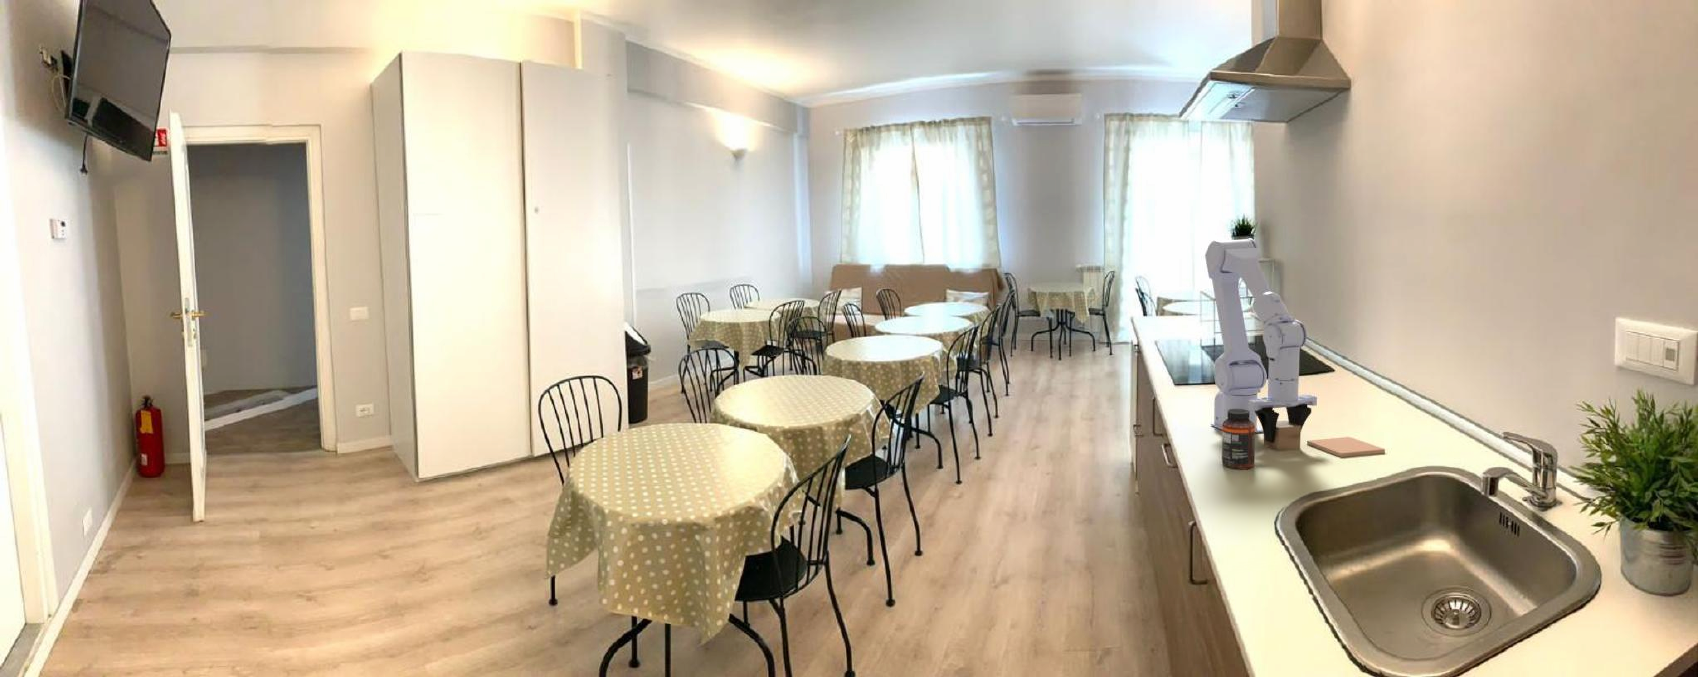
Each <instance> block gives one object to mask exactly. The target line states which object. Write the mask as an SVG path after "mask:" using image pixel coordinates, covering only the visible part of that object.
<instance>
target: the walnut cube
mask: <svg viewBox="0 0 1698 677" xmlns="http://www.w3.org/2000/svg"><path fill="white" fill-rule="evenodd" d="M1301 432H1302V430H1301V426H1299V425H1297V424H1294V423H1291V422H1289V421H1288V420H1277V423H1276V431H1275V441H1274V443H1270V442H1268V441H1266V440H1265V436H1264V435H1263V446H1266V447H1268V448H1270V449H1272V448H1273V450H1276V451H1278V452H1282V451H1293V450H1301V434H1302V433H1301Z"/></svg>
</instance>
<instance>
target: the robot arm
mask: <svg viewBox="0 0 1698 677" xmlns="http://www.w3.org/2000/svg"><path fill="white" fill-rule="evenodd" d="M1204 256H1205V257H1204V258H1205V263H1206V268H1207V274H1208V278H1209V279H1210V280H1211V282H1212V283H1211V284H1212V288H1213V289H1212V290H1213V294H1214V299H1215V300H1214V301H1215V305H1216V311H1217V316H1218V321H1219V322H1218V323H1219V328H1220V333H1221V340H1222V344H1223V353H1222V354H1220V356H1219V357H1217V358H1216V360H1215V361H1214V365H1215V366H1214V382H1215V385H1216V387H1217V388H1218V390H1219V391H1218V392H1217V393H1216V394H1215V397H1214V409H1213V410H1214V412H1213V413H1214V414H1213V415H1214V416H1213V421H1214V422H1211V423H1210V425H1211V426H1212V427H1215V428H1217V429H1219V430H1222V424H1223V422H1224V421H1225V420H1227V419H1228V417H1227V415H1228V410H1230V409H1245V410H1248V411H1249V416H1250V417H1249V420H1250V421H1252V422H1253V423H1254V425H1255V434H1256V433H1263V437H1264V436H1265V440H1266V441H1268V442H1270V443H1274V441H1275V431H1276V423H1277V421H1279V420H1278V419H1279V416H1280V413H1279V412H1276V411H1275V409H1279V408H1280V409H1281V408H1285V410H1286V413H1287V419H1288V420H1287V421H1288V422H1291V423H1294V424H1297V425H1299V426H1301V431H1302V429H1303V427H1304V425H1305V423H1306V422H1307V419H1308V418H1309V416H1310V415H1311V414H1312V407H1315V406H1318V404H1317V403H1318V397H1317V396H1316V395H1313V394H1300V395H1299V380H1300V379H1299V377H1300V351H1301V349H1300V348H1303V346H1305V344H1306V343H1307V339H1308V335H1307V329H1306V327H1305V324H1304V323H1303V322H1302V321H1301V320H1298V319H1296V317H1294V316H1292V315H1291V314H1290V312H1289V310H1288V309H1287V307H1286V304H1285V303H1284V301H1283V299H1282V297H1281V296H1280V294H1278V292H1272V291H1271V289H1270V287H1269V284H1268V282H1267V279H1266V276H1265V274H1264V272H1263V270H1262V267H1261V265H1260V259H1261V250H1260V248H1259V245H1258V244H1257V242H1256V240H1254V238H1245V239H1229V240H1218V239H1217V240H1212V241H1211V242H1209V245H1208V246H1207V249H1206V251H1205V254H1204ZM1240 279H1241V280H1242V281H1243V283H1244V284H1245V286H1246V288H1247V289H1248V290H1249V292H1250V294H1251V295H1252V297H1253V298H1254V300H1253V303H1252V308H1253V310H1254V313H1255V314H1256V316H1257V318H1258V320H1259V322H1260V323H1261V325H1262V328H1263V329H1264V331H1263V332H1264V333H1263V334H1262V341H1263V343H1264V346H1265V354H1266V356H1267V357H1268V374H1267V370H1266V369H1265V367H1264V365H1263V362H1262V359H1261V358H1262V357H1261V356H1260V355H1259V353H1257V352H1255V351H1253V350H1252V349H1251V348H1250V347H1249V340H1248V335H1247V330H1246V324H1245V319H1244V313H1243V307H1242V302H1241V296H1240V291H1239V284H1238V283H1239V281H1240ZM1267 375H1268V376H1267ZM1267 379H1268V380H1267ZM1267 381H1268V383H1267ZM1266 383H1267V386H1268V387H1267V396H1264V397H1260V398H1258V393H1259V394H1260V393H1261V390H1262V389H1263V388H1264V387H1265V385H1266ZM1308 406H1312V407H1308ZM1257 420H1258V421H1259V423H1260V426H1261V427H1259V426H1257V425H1258V421H1257Z"/></svg>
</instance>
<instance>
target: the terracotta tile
mask: <svg viewBox="0 0 1698 677" xmlns="http://www.w3.org/2000/svg"><path fill="white" fill-rule="evenodd" d="M1306 442H1307V443H1306V445H1308V446H1309V447H1310V446H1311V447H1313V448H1316V449H1318V450H1321V451H1324V452H1326V453H1329V454H1331V455H1335V456H1336V457H1339V458H1344V457H1345V458H1346V457H1347V458H1348V457H1355V456H1365V455H1375V454H1376V455H1377V454H1384V453H1386V449H1385V448H1383V447H1380V446H1377V445H1374V444H1372V443H1368V442H1365V441H1363V440H1360V439H1357V438H1354V437H1350V436H1344V437H1333V438H1323V439H1312V440H1310V439H1309V440H1307V441H1306Z"/></svg>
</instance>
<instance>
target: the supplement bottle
mask: <svg viewBox="0 0 1698 677" xmlns="http://www.w3.org/2000/svg"><path fill="white" fill-rule="evenodd" d="M1227 417H1228V419H1227V420H1225V421H1224V422H1223V424H1222V429H1221V432H1222V433H1221V434H1222V435H1221V436H1222V437H1221V440H1222V441H1221V442H1222V444H1221V452H1222V453H1221V459H1222V460H1221V462H1222V465H1223V466H1224V467H1227V468H1230V469H1236V470H1247V469H1251V468H1253V467H1254V466H1255V455H1256V453H1255V451H1256V450H1255V449H1256V448H1255V440H1256V439H1255V438H1256V437H1255V436H1256V433H1255V425H1254V423H1253V422H1252V421H1250V420H1249V417H1250V416H1249V411H1248V410H1245V409H1230V410H1228V415H1227Z"/></svg>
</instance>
